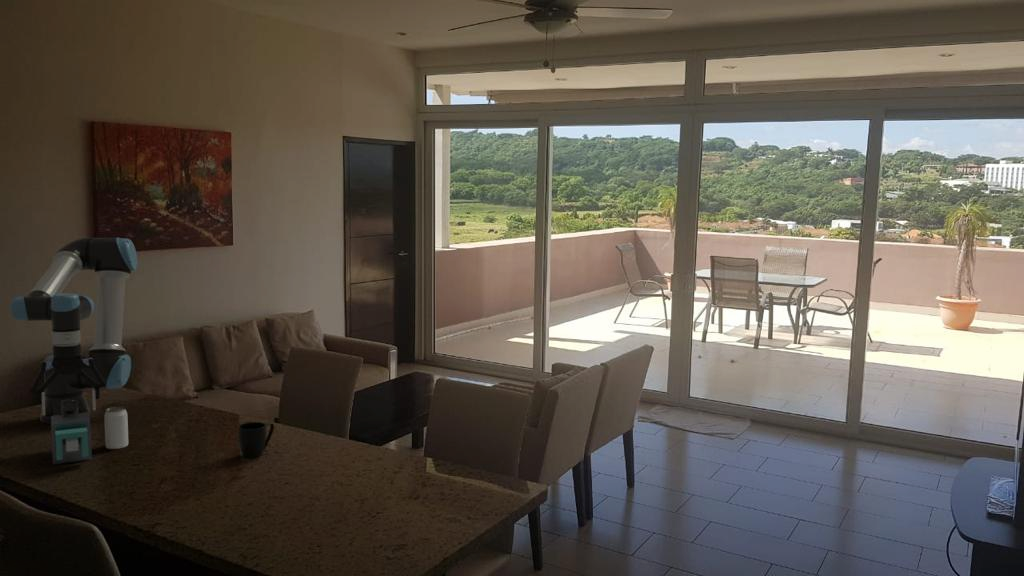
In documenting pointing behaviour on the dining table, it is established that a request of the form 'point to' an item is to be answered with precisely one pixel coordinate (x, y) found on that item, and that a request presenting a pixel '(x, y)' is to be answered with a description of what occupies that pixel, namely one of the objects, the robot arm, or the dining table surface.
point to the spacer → (71, 434)
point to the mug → (253, 438)
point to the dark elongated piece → (70, 408)
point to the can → (116, 428)
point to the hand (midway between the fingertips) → (69, 412)
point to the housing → (65, 424)
